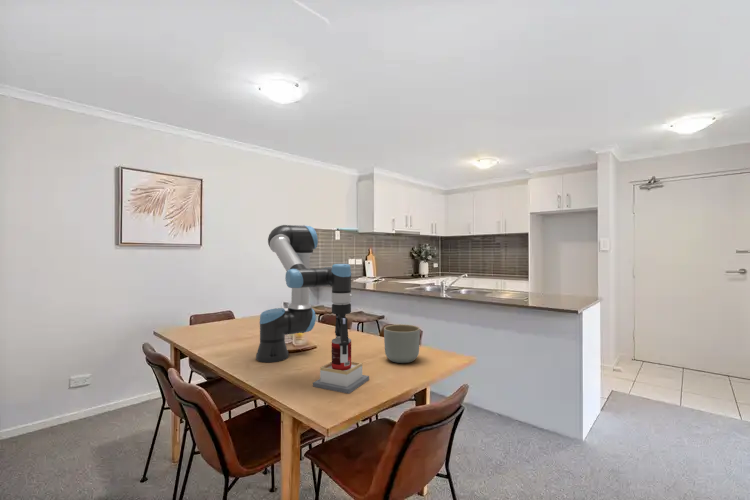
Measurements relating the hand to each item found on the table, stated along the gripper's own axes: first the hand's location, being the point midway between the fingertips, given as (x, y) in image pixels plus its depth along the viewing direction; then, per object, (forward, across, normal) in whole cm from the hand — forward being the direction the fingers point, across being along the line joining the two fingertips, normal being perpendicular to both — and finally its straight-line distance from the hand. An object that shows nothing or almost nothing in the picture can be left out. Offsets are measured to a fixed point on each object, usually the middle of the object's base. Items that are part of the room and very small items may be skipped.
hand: (341, 357), depth 143 cm
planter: (+10, +22, -32) cm, 41 cm away
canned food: (+4, 0, 0) cm, 4 cm away
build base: (+10, 0, 0) cm, 10 cm away
